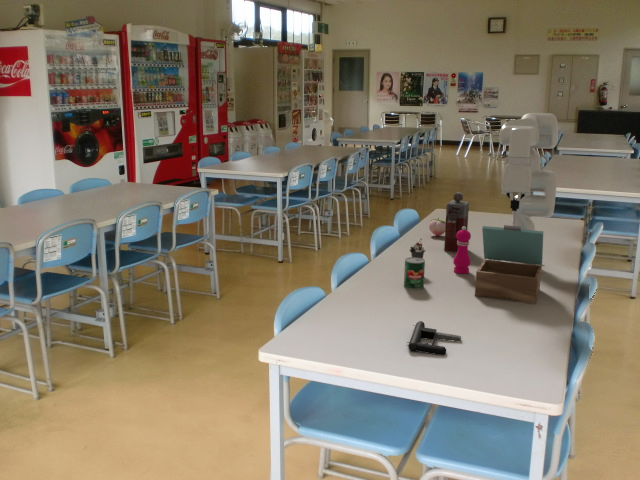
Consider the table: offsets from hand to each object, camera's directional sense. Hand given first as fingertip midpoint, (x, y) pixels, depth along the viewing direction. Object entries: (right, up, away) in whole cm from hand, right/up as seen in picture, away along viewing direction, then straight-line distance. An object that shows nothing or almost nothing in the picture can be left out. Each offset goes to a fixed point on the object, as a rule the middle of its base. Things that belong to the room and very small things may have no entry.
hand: (514, 210), depth 241 cm
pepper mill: (-12, -25, +34) cm, 44 cm away
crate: (0, -31, +7) cm, 32 cm away
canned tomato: (-36, -30, +15) cm, 49 cm away
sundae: (-32, -25, +32) cm, 52 cm away
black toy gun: (-37, -44, -39) cm, 69 cm away
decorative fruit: (-11, -9, +96) cm, 97 cm away
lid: (+1, -13, +6) cm, 14 cm away
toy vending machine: (-8, -16, +68) cm, 71 cm away
